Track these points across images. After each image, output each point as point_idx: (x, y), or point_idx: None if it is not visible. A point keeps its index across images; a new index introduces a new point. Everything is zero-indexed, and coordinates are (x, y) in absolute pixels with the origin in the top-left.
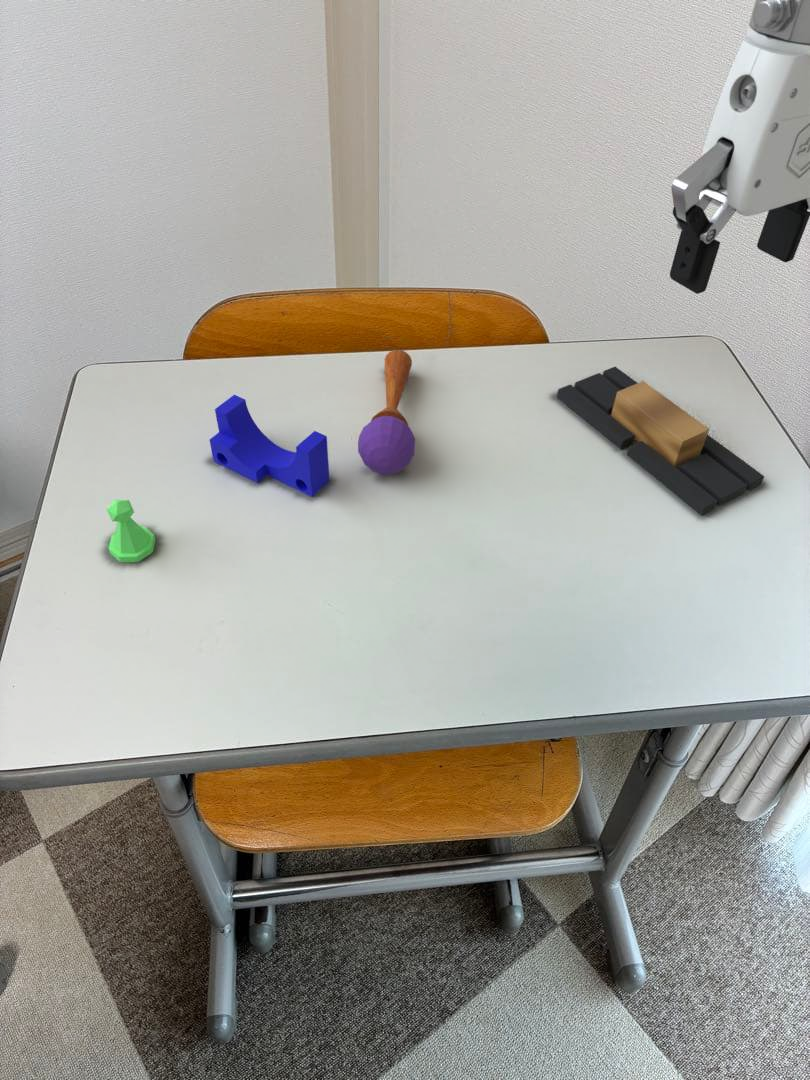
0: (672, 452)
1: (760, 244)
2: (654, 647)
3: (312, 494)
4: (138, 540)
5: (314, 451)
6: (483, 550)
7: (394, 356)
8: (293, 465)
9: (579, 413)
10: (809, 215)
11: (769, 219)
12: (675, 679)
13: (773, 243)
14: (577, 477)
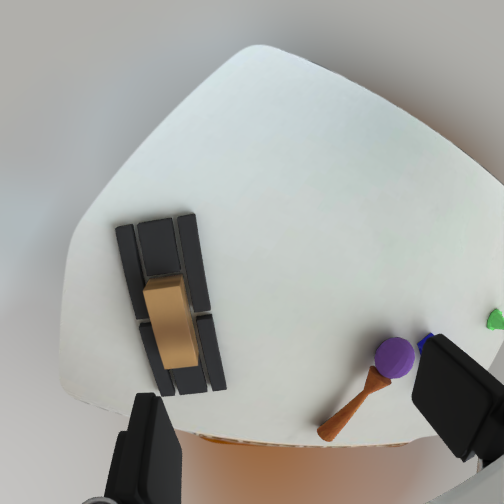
0: (182, 285)
1: (179, 452)
2: (324, 116)
3: (431, 333)
4: (498, 317)
5: None
6: (379, 251)
7: (334, 436)
8: None
9: (221, 362)
10: (118, 486)
11: (177, 498)
12: (327, 89)
13: (171, 445)
14: (269, 296)
